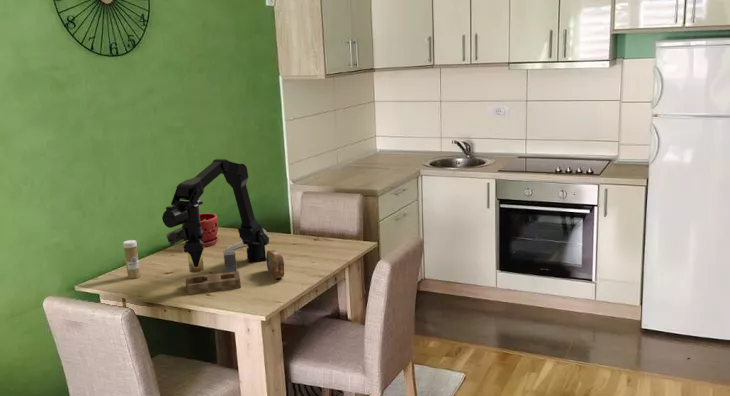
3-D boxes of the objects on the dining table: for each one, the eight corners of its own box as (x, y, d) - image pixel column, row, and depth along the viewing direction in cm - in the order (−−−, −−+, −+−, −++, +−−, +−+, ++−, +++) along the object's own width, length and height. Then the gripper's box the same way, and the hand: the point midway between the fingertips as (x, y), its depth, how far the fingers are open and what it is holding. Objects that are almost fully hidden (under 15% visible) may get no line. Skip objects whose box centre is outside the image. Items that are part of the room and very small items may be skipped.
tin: (266, 270, 249) (264, 247, 247) (274, 268, 250) (272, 246, 248) (277, 282, 235) (276, 258, 233) (286, 280, 236) (284, 257, 234)
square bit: (236, 269, 251) (234, 251, 249) (236, 272, 247) (235, 254, 246) (225, 270, 250) (223, 252, 249) (225, 273, 246) (223, 255, 245)
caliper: (266, 241, 286) (265, 227, 285) (268, 242, 285) (266, 227, 284) (223, 252, 274) (221, 237, 272) (224, 252, 273) (222, 237, 272)
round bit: (203, 267, 234) (201, 247, 232) (203, 271, 229) (201, 251, 228) (189, 268, 233) (187, 249, 231) (189, 273, 228) (187, 253, 227)
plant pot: (190, 241, 292) (187, 214, 289) (221, 239, 292) (219, 212, 290) (185, 249, 279) (182, 221, 276) (217, 247, 280) (214, 219, 277)
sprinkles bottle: (133, 279, 245) (128, 243, 242) (124, 277, 247) (120, 242, 244) (143, 275, 248) (138, 240, 245) (135, 274, 251) (130, 239, 248)
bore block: (239, 279, 240) (238, 271, 239) (240, 287, 231) (240, 279, 230) (186, 285, 236) (186, 277, 235) (186, 294, 227) (185, 285, 226)
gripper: (167, 216, 234) (172, 259, 238) (165, 229, 216) (170, 276, 220) (200, 212, 237) (205, 255, 240) (200, 225, 219) (205, 271, 222)
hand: (196, 264), depth 231 cm, fingers closed on round bit, 5 cm apart
